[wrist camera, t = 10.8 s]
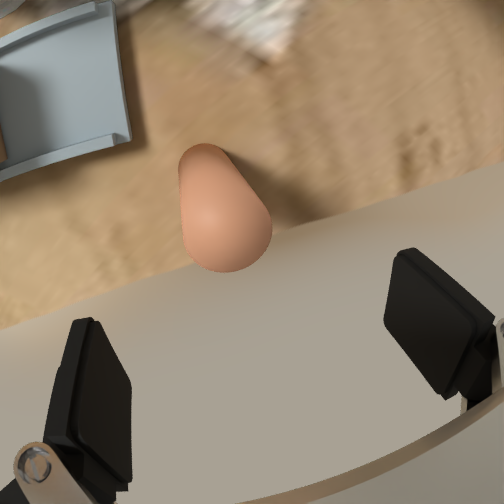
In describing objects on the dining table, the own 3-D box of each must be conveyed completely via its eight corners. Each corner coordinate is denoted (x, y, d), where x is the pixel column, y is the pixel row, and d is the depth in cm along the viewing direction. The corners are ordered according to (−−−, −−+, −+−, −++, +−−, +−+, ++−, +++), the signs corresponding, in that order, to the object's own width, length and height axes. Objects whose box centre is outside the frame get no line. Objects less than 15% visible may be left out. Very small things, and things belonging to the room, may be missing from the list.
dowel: (226, 139, 24) (268, 183, 14) (232, 187, 26) (275, 263, 16) (174, 148, 23) (174, 200, 13) (183, 196, 25) (192, 280, 15)
